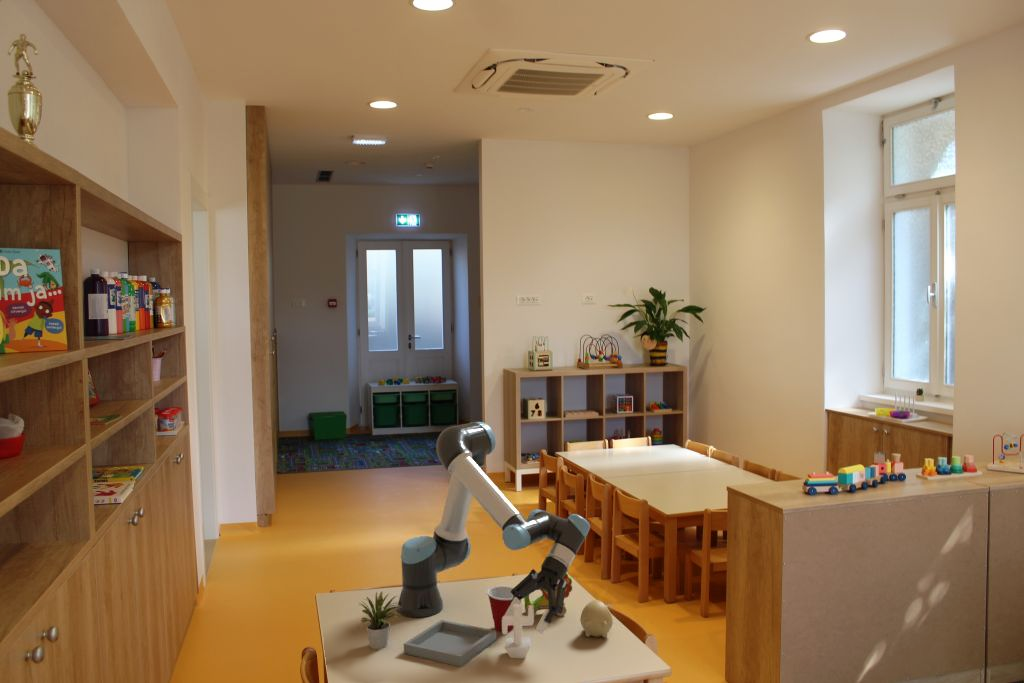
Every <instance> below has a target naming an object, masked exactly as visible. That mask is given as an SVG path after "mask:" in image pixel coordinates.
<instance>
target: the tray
mask: <svg viewBox="0 0 1024 683" xmlns="http://www.w3.org/2000/svg"><path fill="white" fill-rule="evenodd" d="M496 641H497V630H496V629H489V628H484V627H479V626H474V625H469V624H465V623H459V622H455V621H448V620H444V619H440V620H439V621H437V622H436V623H433V625H431V626H429V627H428V628H426V629H424V630H423V631H421V632H420V633H418V634H416V635H415V636H413V637H412V638H411V639H409V640H407V641H405V642H404V643H403V654H404V655H408V656H412V657H417V658H420V659H421V658H422V659H426V660H430V661H434V662H437V663H438V662H439V663H443V664H447V665H450V666H454V667H460V668H462V667H463V666H465V665H466V664H467V663H468V662H470V661H471V660H472V659H474V658H475V657H477V656H478V655H479V654H480V653H482V652H483V651H485V649H487V648H488V647H490V646H491V645H492V644H494V643H495V642H496Z"/></svg>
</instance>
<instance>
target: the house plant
mask: <svg viewBox="0 0 1024 683" xmlns="http://www.w3.org/2000/svg"><path fill="white" fill-rule="evenodd" d="M383 593H384V592H383V591H380V593H379V595H378V591H376V593H375V602H374V603H375V604H374V603H373V601H372V600H371V599H370V598H369V597H368V596H366V599H363V600H365V601H366V600H367V602H368V604H369V605H370V607H369V606H368V605H367V604H366V603H365V602H364V601H362V600H361V602H359V605H360V606H362V607H363V608H364V609H362V610H361V612H362V613H364V614H366V615H367V616H368V617H369V618H367V617H361V620H360V622H361V624H363V623H366V622H369V623H368V624H367V625H366V632H367V636H368V641H369V646H370V648H371V649H373V650H382V649H386V648H387V647H388V644H389V636H390V628H391V623H390V622H388V621H387V620H389V619H390V618H398V616H397V615H399V612H398V611H392V610H395V609H398V608H399V607H398V606H396V605H394V604H395V602H393V600H394V599H396V598H397V597H398V595H396V596H393V597H392V598H391V599H389V601H388V602H387V603H386V604H385V606H383V605H384V603H385V600H386V599H387V597H388V596H389V593H387V595H385V596H384V597H383ZM390 611H392V612H390Z"/></svg>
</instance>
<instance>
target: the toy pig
mask: <svg viewBox="0 0 1024 683" xmlns="http://www.w3.org/2000/svg"><path fill="white" fill-rule="evenodd" d="M579 619H580V620H579V621H580V624H581V627H582V629H583V630H584V632H585V636H586V637H588V638H589V637H595V638H597V637H599V638H600V637H602V638H607V636H608V633H609V632H610V630H611V629H612V626H613V624H614V621H613V616H612V613H611V611H610V609H609V608H608V606H607V605H606V603H604V602H603V601H601V600H599V599H594V600H591V601H590V602H588V603H587V604H586V605H585V606H584V608H583V609H582V611H581V614H580V618H579Z"/></svg>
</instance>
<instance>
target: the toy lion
mask: <svg viewBox="0 0 1024 683" xmlns="http://www.w3.org/2000/svg"><path fill="white" fill-rule="evenodd" d="M563 580H564V581H565V582H566V583H567V584H568V585H567V587H566V589H565V596H564V599H567V598H568V597H569V596H570V593H571V592H572V591H573V585H572V584H573V580H572V577H571V576H570V575H569V574H568V571H567V572H566V574H565V576H564V578H563ZM536 584H537V583H536ZM557 587H558V586H556V587H555V588H556V594H557ZM539 591H541V593H542V595H540V596H538V597H537V598H536V599H534V601H533V600H531V599H530V594H529V595H527V596H526V597H524V598H523V599H524V612H525V616H528V608H529V607H530V606H532V607H533V608H534V616H535V615H536V614H537V612H538V611H542V610H546V609H548V608H549V602H548V592H546V591H545V590H541V589H539ZM556 594H555V596H556ZM548 610H549V609H548ZM566 613H567V608H566V604H565V602H564V604H563V612H562V613H561V614H559V613H556V614H555V615H557V616H559V617H563V616H564V615H566Z"/></svg>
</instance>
